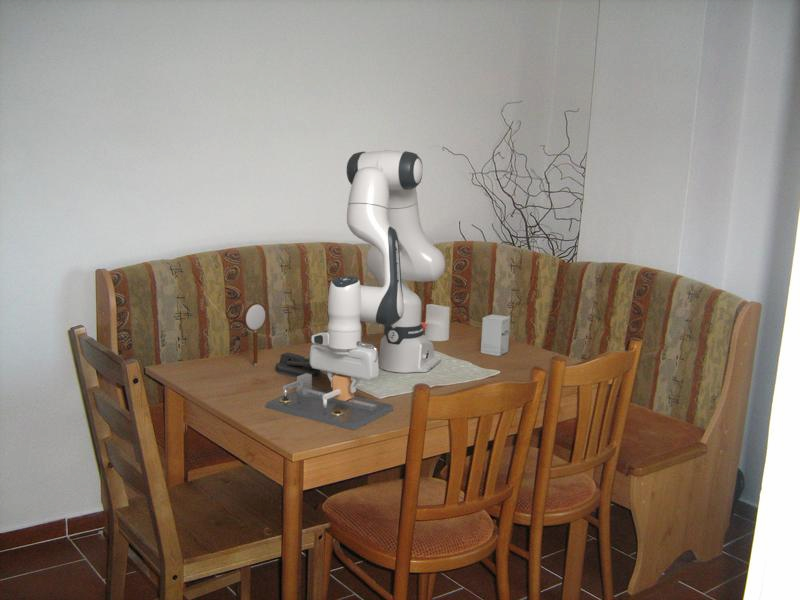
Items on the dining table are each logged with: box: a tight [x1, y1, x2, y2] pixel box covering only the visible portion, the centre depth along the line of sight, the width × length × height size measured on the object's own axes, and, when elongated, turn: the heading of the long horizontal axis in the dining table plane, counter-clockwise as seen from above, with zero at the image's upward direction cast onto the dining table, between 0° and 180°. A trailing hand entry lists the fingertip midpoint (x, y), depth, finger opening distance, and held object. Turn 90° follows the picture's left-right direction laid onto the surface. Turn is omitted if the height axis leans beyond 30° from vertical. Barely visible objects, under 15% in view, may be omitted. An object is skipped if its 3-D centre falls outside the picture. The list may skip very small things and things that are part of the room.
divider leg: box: [323, 373, 355, 408], centre depth 202 cm, size 10×4×6 cm, turn 148°
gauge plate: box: [266, 373, 394, 431], centre depth 204 cm, size 18×28×6 cm, turn 58°
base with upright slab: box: [424, 303, 451, 342], centre depth 285 cm, size 9×9×12 cm
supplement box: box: [480, 314, 511, 357], centre depth 266 cm, size 7×7×13 cm
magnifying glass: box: [243, 302, 267, 367], centre depth 241 cm, size 9×2×20 cm, turn 141°
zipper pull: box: [275, 351, 322, 380], centre depth 233 cm, size 9×7×25 cm
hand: (343, 390), depth 205 cm, fingers closed on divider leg, 4 cm apart
